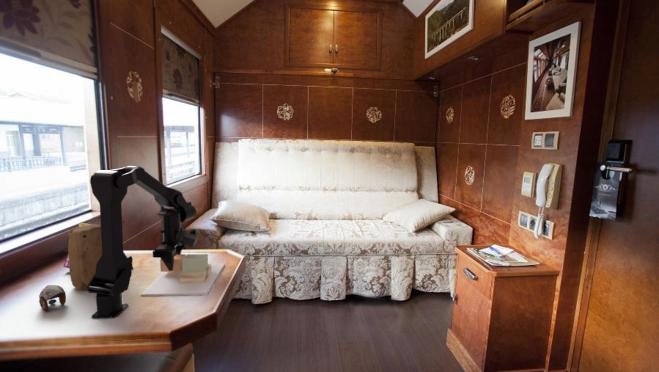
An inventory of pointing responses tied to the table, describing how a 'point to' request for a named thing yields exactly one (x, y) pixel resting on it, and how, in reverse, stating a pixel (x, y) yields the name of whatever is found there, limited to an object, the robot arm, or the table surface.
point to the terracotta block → (176, 266)
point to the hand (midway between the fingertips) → (173, 267)
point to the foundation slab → (195, 276)
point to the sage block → (195, 262)
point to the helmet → (51, 296)
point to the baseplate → (181, 284)
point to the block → (84, 254)
